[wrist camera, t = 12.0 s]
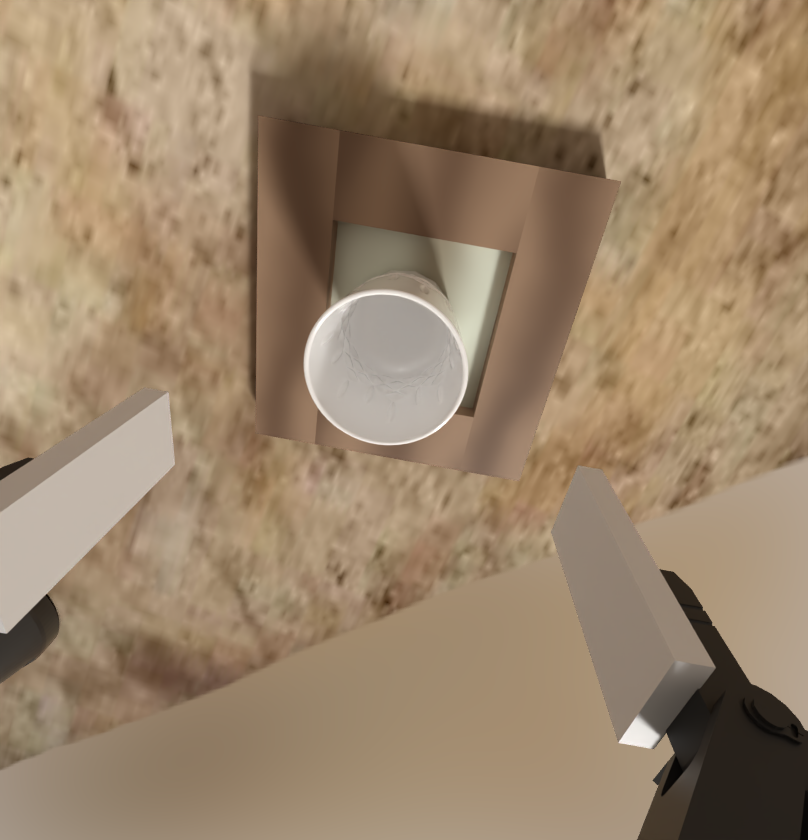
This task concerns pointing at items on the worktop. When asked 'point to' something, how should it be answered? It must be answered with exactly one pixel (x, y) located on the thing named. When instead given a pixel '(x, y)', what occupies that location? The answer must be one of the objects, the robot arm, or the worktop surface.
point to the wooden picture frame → (431, 257)
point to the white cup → (388, 360)
